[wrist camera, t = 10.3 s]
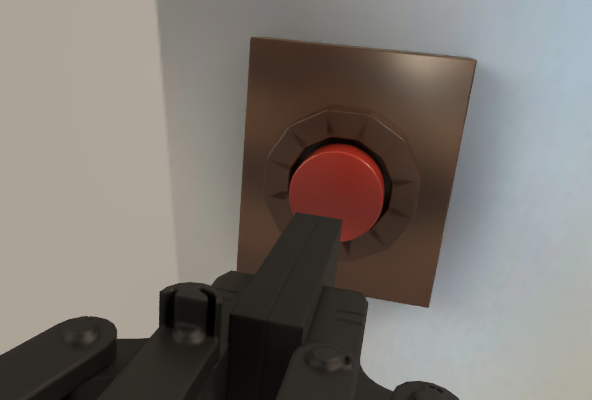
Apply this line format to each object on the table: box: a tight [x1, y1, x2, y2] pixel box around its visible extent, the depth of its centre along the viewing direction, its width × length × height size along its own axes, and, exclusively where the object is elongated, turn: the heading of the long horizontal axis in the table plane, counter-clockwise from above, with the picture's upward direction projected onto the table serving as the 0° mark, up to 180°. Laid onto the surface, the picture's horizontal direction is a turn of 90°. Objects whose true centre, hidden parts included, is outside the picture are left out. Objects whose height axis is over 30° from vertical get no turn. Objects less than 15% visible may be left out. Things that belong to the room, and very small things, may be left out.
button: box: [289, 143, 385, 242], centre depth 23 cm, size 4×4×2 cm
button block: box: [237, 37, 477, 308], centre depth 25 cm, size 12×10×4 cm
